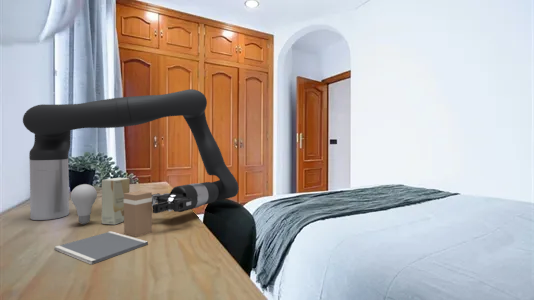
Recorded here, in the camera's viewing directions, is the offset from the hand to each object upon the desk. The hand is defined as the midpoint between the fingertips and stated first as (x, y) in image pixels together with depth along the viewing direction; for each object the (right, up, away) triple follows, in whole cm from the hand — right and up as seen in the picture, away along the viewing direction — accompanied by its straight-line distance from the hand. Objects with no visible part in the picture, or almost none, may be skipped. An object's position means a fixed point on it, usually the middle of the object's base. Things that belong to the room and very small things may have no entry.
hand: (142, 207), depth 71 cm
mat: (-4, -6, -11) cm, 13 cm away
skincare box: (-11, -6, +9) cm, 15 cm away
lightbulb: (-19, -6, +6) cm, 20 cm away
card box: (-1, -6, -1) cm, 6 cm away
